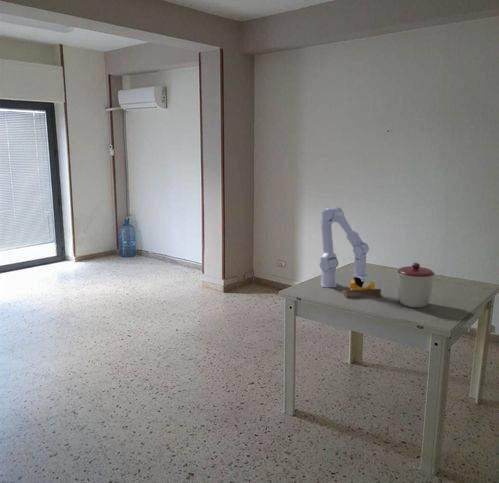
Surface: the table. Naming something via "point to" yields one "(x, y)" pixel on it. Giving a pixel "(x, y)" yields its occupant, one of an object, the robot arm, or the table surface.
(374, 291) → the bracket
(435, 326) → the table surface
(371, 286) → the pipe clamp
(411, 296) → the canister
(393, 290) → the table surface
